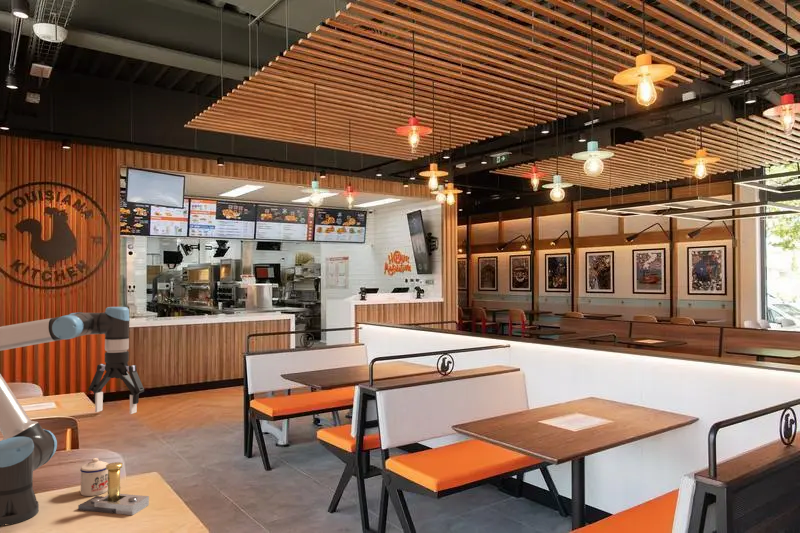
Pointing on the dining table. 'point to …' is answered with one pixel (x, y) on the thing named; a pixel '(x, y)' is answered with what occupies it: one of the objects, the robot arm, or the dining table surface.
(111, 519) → the dining table surface
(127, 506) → the block
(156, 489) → the dining table surface
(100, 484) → the teacup with lid
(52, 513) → the dining table surface
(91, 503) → the lower chain end
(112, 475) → the brass pin
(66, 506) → the dining table surface
